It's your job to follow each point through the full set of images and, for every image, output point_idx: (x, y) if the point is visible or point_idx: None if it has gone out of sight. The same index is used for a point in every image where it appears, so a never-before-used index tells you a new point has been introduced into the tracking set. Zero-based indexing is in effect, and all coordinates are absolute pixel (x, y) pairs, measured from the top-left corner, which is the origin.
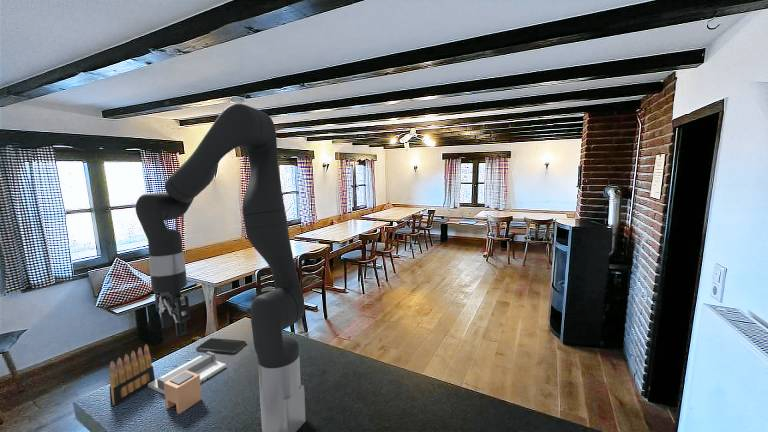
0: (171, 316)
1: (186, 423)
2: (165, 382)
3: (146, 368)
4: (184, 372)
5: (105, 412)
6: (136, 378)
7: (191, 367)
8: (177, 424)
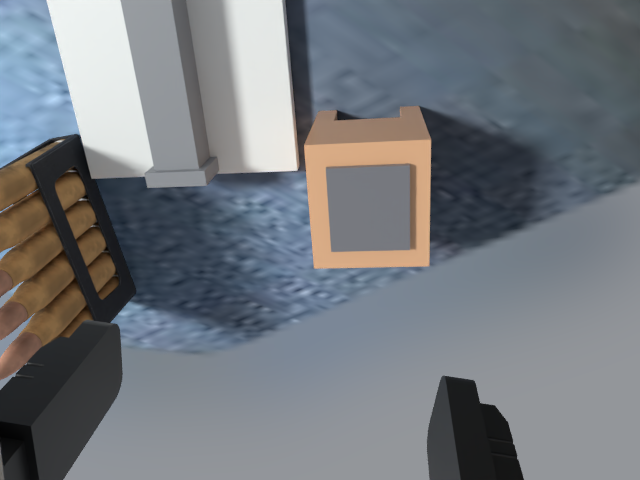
0: (60, 391)
1: (500, 228)
2: (321, 263)
3: (31, 192)
4: (330, 174)
5: (147, 321)
6: (74, 241)
7: (174, 18)
8: (470, 246)
